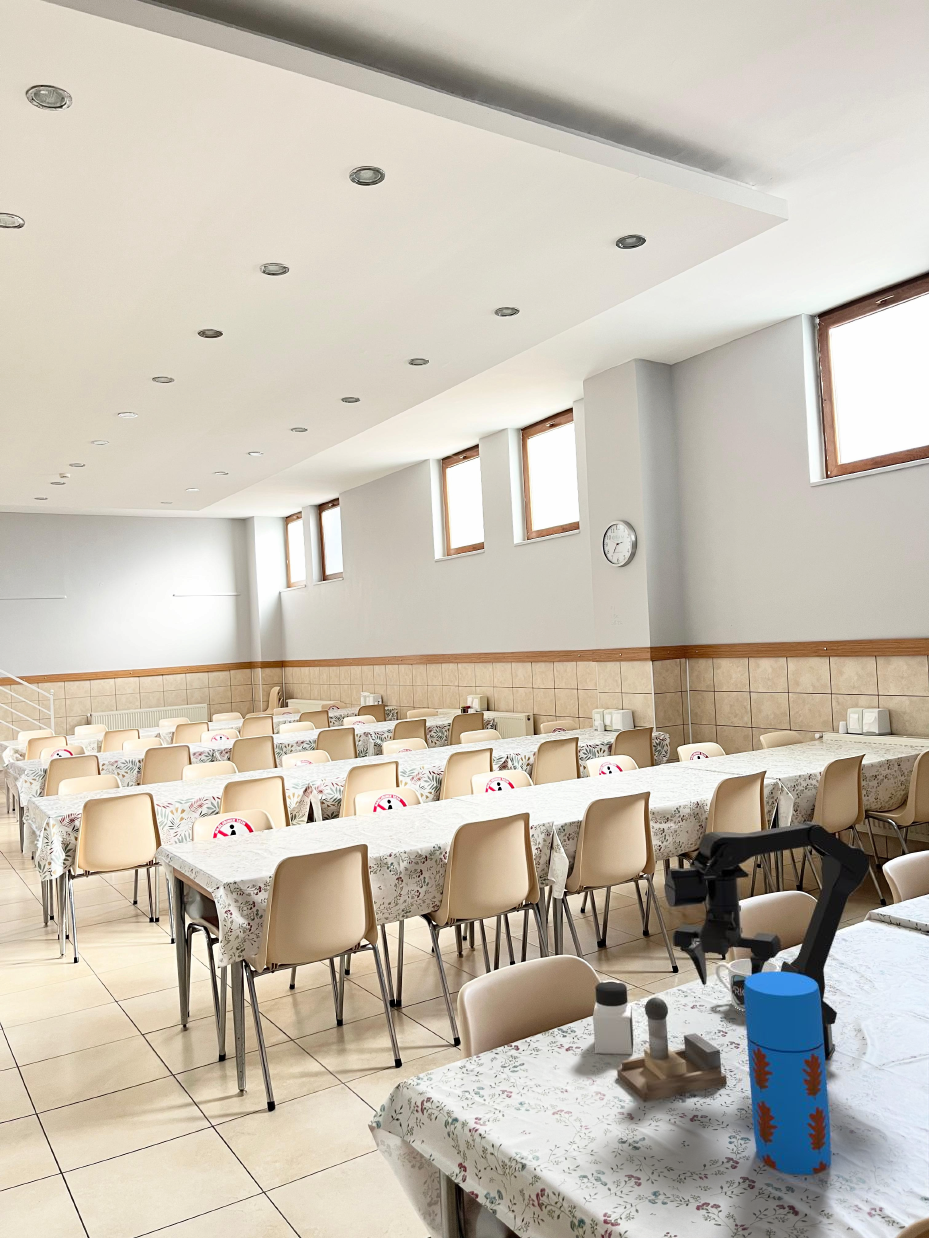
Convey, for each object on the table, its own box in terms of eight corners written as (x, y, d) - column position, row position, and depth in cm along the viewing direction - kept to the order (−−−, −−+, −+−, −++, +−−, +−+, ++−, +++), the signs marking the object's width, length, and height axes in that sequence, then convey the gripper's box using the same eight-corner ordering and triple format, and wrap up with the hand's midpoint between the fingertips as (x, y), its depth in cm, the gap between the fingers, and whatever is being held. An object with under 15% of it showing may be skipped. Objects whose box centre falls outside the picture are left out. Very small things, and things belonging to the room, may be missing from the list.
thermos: (795, 1183, 126) (782, 1001, 128) (739, 1149, 136) (727, 980, 137) (849, 1160, 131) (835, 985, 133) (791, 1129, 141) (779, 966, 142)
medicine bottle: (633, 1055, 171) (628, 990, 171) (595, 1053, 172) (591, 989, 173) (633, 1039, 178) (629, 977, 178) (597, 1038, 179) (593, 976, 180)
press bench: (695, 1061, 166) (693, 1030, 167) (726, 1084, 157) (724, 1051, 157) (617, 1077, 162) (615, 1045, 162) (644, 1101, 152) (642, 1068, 153)
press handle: (664, 1061, 163) (660, 988, 164) (686, 1079, 156) (681, 1002, 157) (640, 1066, 162) (635, 992, 163) (661, 1084, 155) (656, 1007, 155)
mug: (787, 1000, 193) (784, 962, 194) (775, 1017, 184) (772, 977, 185) (724, 991, 201) (722, 954, 201) (710, 1007, 192) (707, 969, 192)
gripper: (659, 908, 166) (665, 994, 165) (762, 918, 156) (769, 1010, 155) (680, 893, 176) (685, 975, 175) (778, 902, 165) (784, 989, 165)
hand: (728, 987), depth 167 cm, fingers open, 9 cm apart
